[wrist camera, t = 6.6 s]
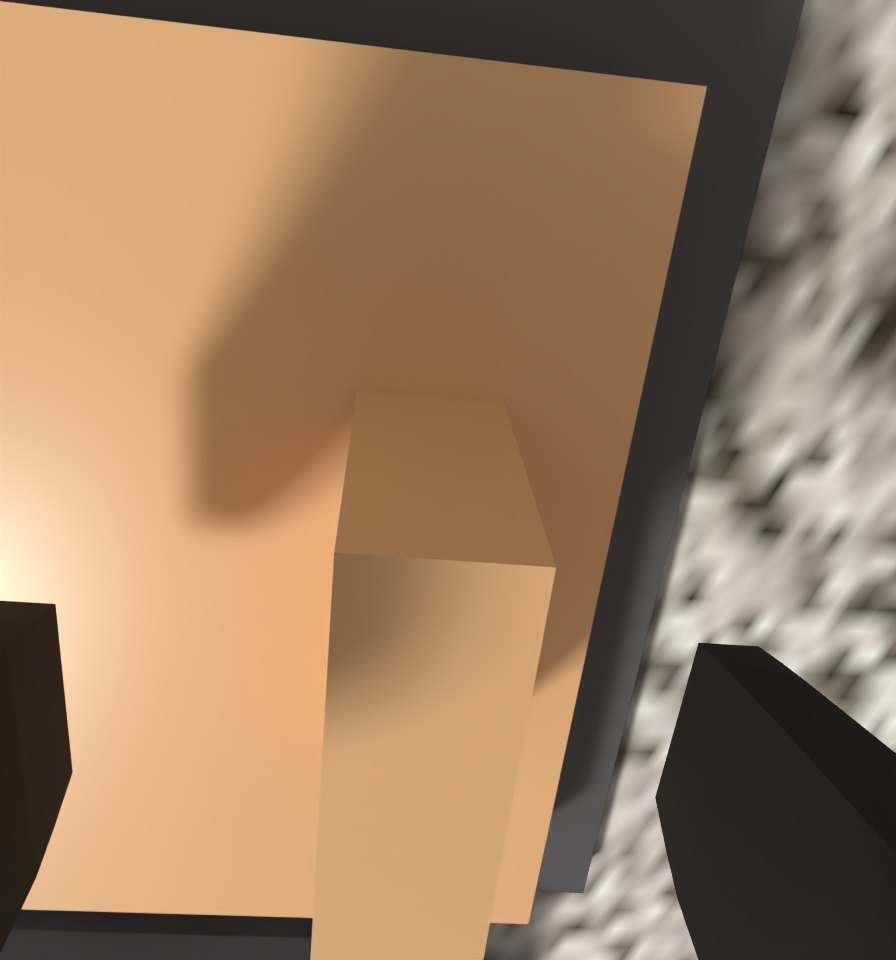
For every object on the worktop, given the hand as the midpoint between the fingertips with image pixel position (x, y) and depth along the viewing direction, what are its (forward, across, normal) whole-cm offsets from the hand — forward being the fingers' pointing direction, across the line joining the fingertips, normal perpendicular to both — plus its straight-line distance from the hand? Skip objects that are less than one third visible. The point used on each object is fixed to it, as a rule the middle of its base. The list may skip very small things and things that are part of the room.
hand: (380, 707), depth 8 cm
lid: (+3, +6, 0) cm, 6 cm away
